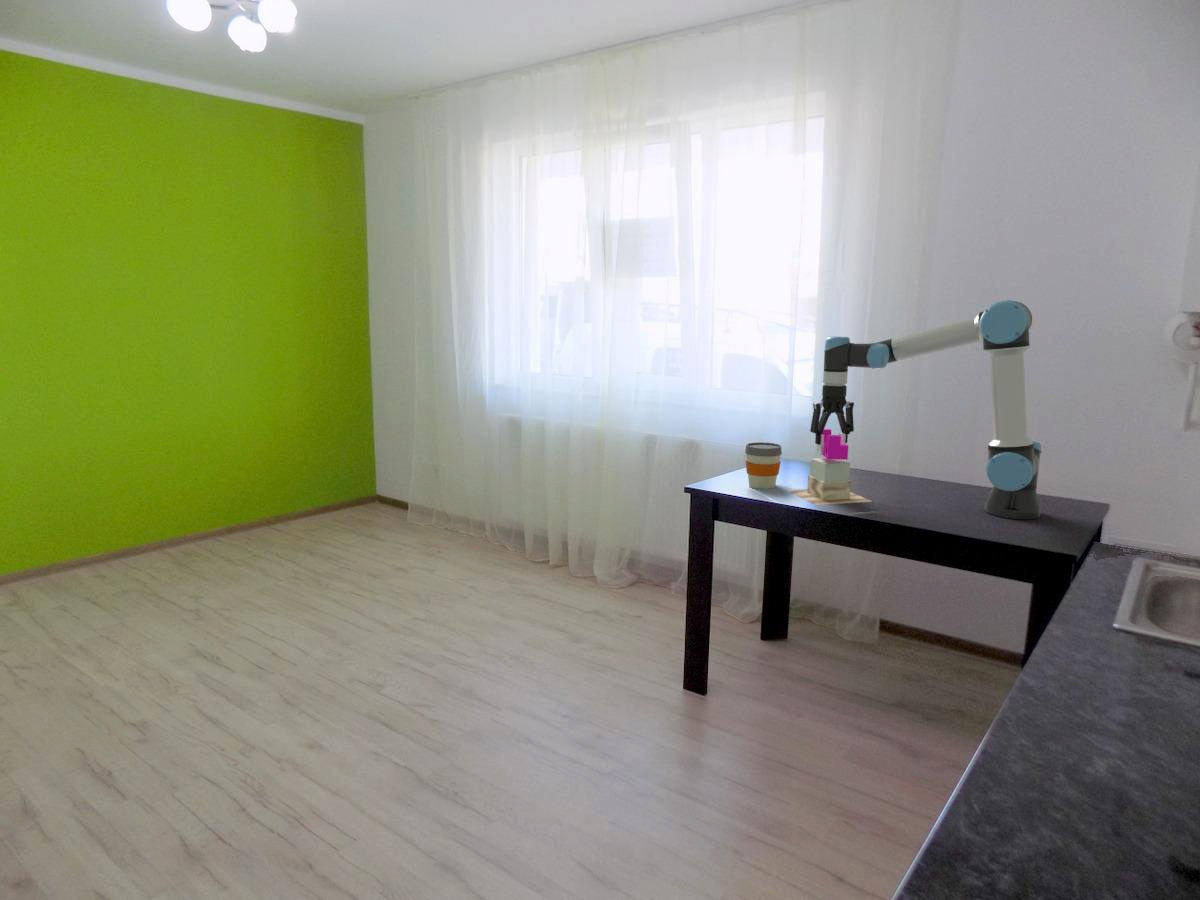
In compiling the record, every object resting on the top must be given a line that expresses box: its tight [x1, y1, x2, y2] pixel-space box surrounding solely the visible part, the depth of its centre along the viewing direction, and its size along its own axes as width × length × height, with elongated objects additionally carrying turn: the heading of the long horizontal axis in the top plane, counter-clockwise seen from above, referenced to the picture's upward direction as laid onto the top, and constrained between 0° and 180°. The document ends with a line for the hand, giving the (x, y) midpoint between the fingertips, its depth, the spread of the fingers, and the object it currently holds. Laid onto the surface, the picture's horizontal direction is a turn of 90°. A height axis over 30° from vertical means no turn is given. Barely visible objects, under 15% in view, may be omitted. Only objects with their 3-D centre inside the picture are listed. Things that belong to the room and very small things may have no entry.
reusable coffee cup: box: [744, 441, 783, 490], centre depth 265 cm, size 13×13×15 cm
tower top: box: [809, 457, 851, 482], centre depth 250 cm, size 9×9×6 cm
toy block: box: [822, 428, 849, 461], centre depth 247 cm, size 15×6×8 cm, turn 176°
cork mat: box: [786, 488, 872, 506], centre depth 252 cm, size 20×20×1 cm
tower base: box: [807, 475, 852, 500], centre depth 251 cm, size 10×10×6 cm
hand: (830, 453), depth 249 cm, fingers closed on toy block, 7 cm apart
